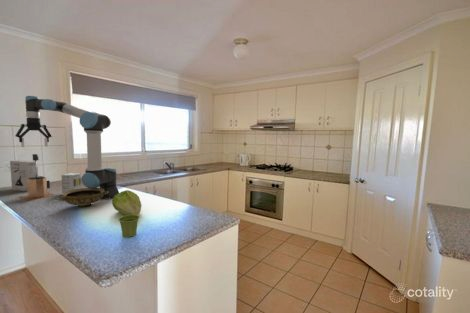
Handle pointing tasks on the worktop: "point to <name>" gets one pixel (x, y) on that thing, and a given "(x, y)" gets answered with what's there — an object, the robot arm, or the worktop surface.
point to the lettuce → (127, 203)
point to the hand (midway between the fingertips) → (34, 146)
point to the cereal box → (21, 173)
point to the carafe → (37, 187)
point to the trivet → (36, 198)
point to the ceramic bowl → (83, 196)
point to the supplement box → (71, 181)
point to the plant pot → (129, 225)
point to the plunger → (35, 158)
